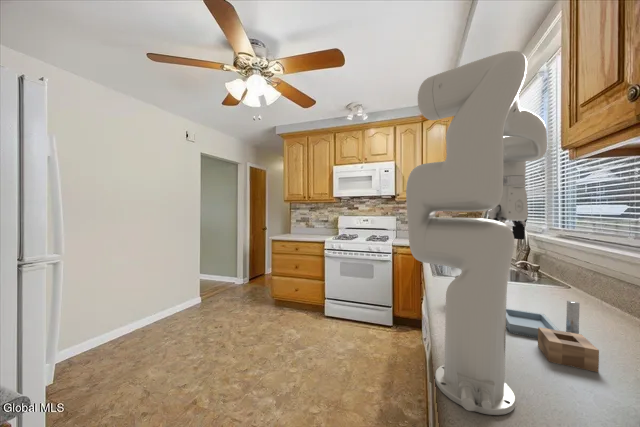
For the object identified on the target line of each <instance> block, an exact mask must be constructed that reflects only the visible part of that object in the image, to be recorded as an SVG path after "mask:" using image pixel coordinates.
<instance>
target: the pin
mask: <svg viewBox="0 0 640 427" xmlns="http://www.w3.org/2000/svg"><path fill="white" fill-rule="evenodd" d="M580 308H581V307H580V302H579V301H578V302H577V301H574V300H566V316H565V317H566V318H565V320H566V323H565V324H566V325H565V326H566V327H565V328H566V329H565V332H570V333H576V334H580Z"/></svg>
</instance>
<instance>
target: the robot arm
mask: <svg viewBox="0 0 640 427" xmlns="http://www.w3.org/2000/svg"><path fill="white" fill-rule="evenodd" d="M527 68H528V60H527V57H526V55H525V54H524V52H521V51H519V50H509V51H504V52H500V53H496V54H492V55H490V56H486V57H483V58H481V59H477V60H474V61H471V62H469V63H465V64H463V65H461V66H457V67H454V68H451V69H448V70H445V71H443V72H440V73H437V74H435V75H434V74H433V75H431V76H428V77H427V78H426V79H424V80H423V82H422V83H421V84H420V85H419V88H418V91H417V106H418V110H419V111H420V113H421V115H422V116H423V117H424V118H425V119H427V120H430V121H438V120H442V119H446V118H451V117H453V118H452V120H451V121H450V123H449V125H448V127H447V130H446V134H445V142H446V143H445V144H446V151H445V152H446V157H445V160H443V161H436V162H427V163H422V164H420V165H417V166H415V167H414V168H413V169H412V170H411V172H410V173H409V175H408V179H407V181H406V188H405V200H406V212H407V213H406V216H407V230H408V231H407V232H408V242H409V243H408V244H409V248H410V252H411V253H410V254H411V255H412V257H413V258H414V259H415V260H416V261H418V262H421V263H426V264H430V265H437V266H443V267H450V268H455V269H459V270H461V272H460V274H458V275H459V276H458V275H457V276H458V277H457V278H455V277H454V279H453V280H452V281H451V282H450V283H449V284H448V286H447V288H446V292H445V316H444V317H445V319H444V322H445V323H444V356H443V357H444V358H443V359H444V361H443V362H444V364H442V365H440V366H439V367H438V368H436V370H435V375H434V376H435V380H434V382H435V384H436V385H437V387H438V389H439V390H440V391H441V392H442V394H444V396H446V397H447V398H448V399H450V400H451V401H453V402H454V403H456V404H457V405H460V406H461V407H463V408H464V409H465V410H466V411H467V412H476V413H479V414H485V415H488V416H489V415H492V416H500V415H501V416H502V415H506V414H509V413H511V412H512V411H513V410H514V409H515V407H516V394H514V391H513V390H512V388H511V387H510V386H509V385H508V384H507V383H506V382H505V376H506V375H505V374H506V373H505V372H506V371H505V370H506V336H507V333H506V332H507V331H506V330H507V327H506V308H507V300H508V299H507V298H508V297H507V295H508V283H509V274H510V269H511V264H512V260H513V255H514V250H515V240H525V238H526V237H525V235H526V234H525V232H526V230H525V229H526V226H527V221H528V218H529V217H528V216H529V211H528V210H529V208H528V207H529V206H528V197H527V196H528V195H527V189H526V174H527V171H526V170H527V169H526V168H527V167H526V165H527V162H532V161H533V162H534V161H537V160H541V158H543V157H544V156H545V154H546V152H547V148H548V137H547V136H548V133H547V132H548V131H547V127H546V124H545V121H544V120H543V119H542V118H541V116H539V115H537V114H536V113H534V112H532V111H530V110H529V109H526V108H523V107H521V106H520V98H519V93H520V92H521V89H522V87H523V86H524V82H525V79H526V74H527V72H528V71H527ZM486 211H488V212H487V213H488V214H487V215H488V217H489V218H482V217H444V216H443V217H438V216H436V213H437V212H486ZM506 221H511V222H512V223H513V225H512V229H511V228H510V226H509V225H507V224H506V223H505V222H506Z"/></svg>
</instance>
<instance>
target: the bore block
mask: <svg viewBox="0 0 640 427" xmlns="http://www.w3.org/2000/svg"><path fill="white" fill-rule="evenodd" d="M537 346H538V348H539V349H540V351H541V352H542V354H543V355H544V356H545V358H546V359H547V361H548V362H549V363H553V364H559V365H563V366H566V367H567V366H568V367H571V368H577V369H581V370H586V371H590V372H591V371H592V372H596V373H599V369H600V366H599V365H600V364H599V363H600V361H599V360H600V350H599V349H598V348H597V347H596V346H595V345H594V344H593V343H591V342H590V341H589V339H588V338H586V337H585V336H584V335H583V334H581V333H579V334H576V333H570V332H566V331H562V330H560V331H558V330H552V329H547V328H541V327H538V338H537Z"/></svg>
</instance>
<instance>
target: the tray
mask: <svg viewBox="0 0 640 427" xmlns="http://www.w3.org/2000/svg"><path fill="white" fill-rule="evenodd" d="M538 327H541V328H547V329H552V330H558V331H561V330H560V329H559V328H558V327H557V326H556V325H555V324H554V322H552V321H551V320H550V319H549V317H547V316H546V315H545V314H544V313H540V312H539V313H538V312H533V311H527V310H526V311H525V310H519V309H512V308H507V307H506V330H508V333H509V334H516V335H519V336H520V335H521V336H526V337H531V338H536V339H538Z"/></svg>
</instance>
